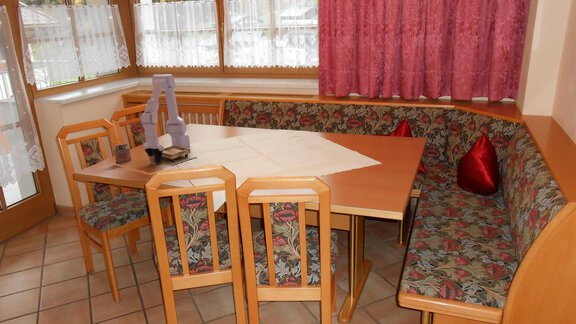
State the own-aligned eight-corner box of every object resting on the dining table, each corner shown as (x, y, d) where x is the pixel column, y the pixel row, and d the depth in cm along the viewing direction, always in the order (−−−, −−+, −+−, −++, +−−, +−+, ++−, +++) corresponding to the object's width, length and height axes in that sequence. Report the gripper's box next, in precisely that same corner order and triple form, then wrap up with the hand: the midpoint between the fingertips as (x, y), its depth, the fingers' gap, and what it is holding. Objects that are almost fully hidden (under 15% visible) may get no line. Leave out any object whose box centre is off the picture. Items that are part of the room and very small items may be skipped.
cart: (174, 152, 240) (173, 145, 238) (191, 156, 231) (190, 148, 230) (156, 158, 231) (154, 151, 230) (172, 162, 222) (171, 154, 221)
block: (157, 163, 226) (155, 153, 224) (161, 164, 224) (160, 155, 222) (150, 165, 223) (149, 156, 221) (155, 166, 221) (153, 157, 219)
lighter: (115, 164, 229) (112, 146, 225) (116, 162, 232) (112, 144, 229) (131, 162, 231) (128, 144, 227) (132, 160, 234) (129, 142, 231)
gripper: (136, 136, 220) (140, 162, 224) (153, 140, 211) (157, 166, 215) (148, 133, 225) (152, 158, 229) (165, 136, 216) (169, 162, 221)
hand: (155, 162), depth 223 cm, fingers closed on block, 4 cm apart
